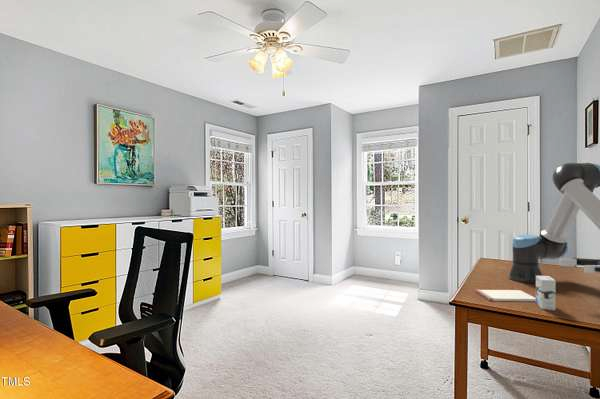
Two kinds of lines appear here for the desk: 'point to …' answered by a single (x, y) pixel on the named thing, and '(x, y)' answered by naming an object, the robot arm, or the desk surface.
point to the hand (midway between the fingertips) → (571, 265)
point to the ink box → (546, 292)
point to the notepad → (505, 295)
